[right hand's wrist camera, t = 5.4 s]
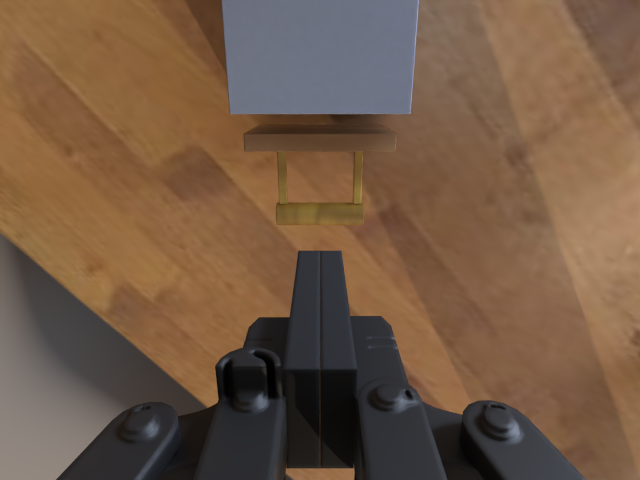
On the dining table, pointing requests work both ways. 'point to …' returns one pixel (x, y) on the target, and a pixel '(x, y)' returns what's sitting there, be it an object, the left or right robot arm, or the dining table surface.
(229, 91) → the pale lavender box
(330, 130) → the drawer
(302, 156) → the dining table surface
